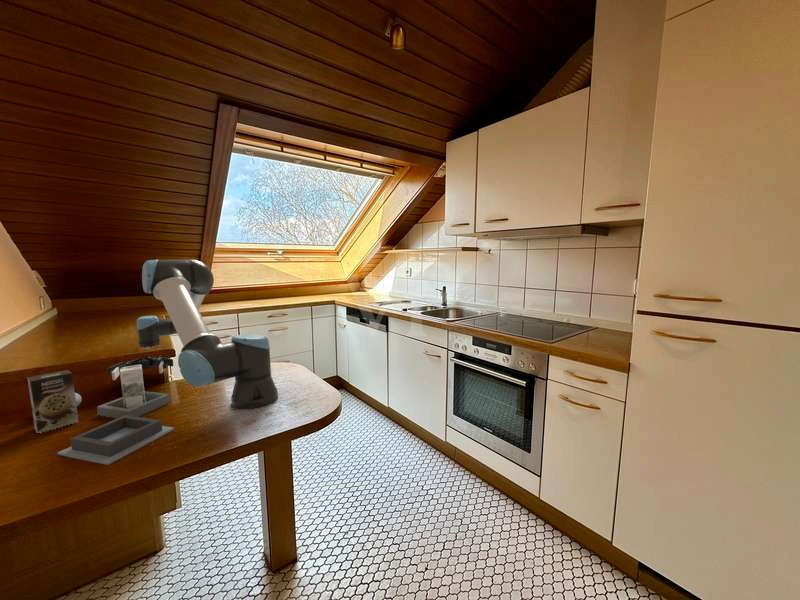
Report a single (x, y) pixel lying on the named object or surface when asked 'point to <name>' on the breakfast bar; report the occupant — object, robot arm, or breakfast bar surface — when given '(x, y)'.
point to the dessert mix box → (52, 400)
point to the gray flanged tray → (115, 439)
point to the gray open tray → (117, 410)
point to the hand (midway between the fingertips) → (137, 372)
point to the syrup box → (132, 386)
